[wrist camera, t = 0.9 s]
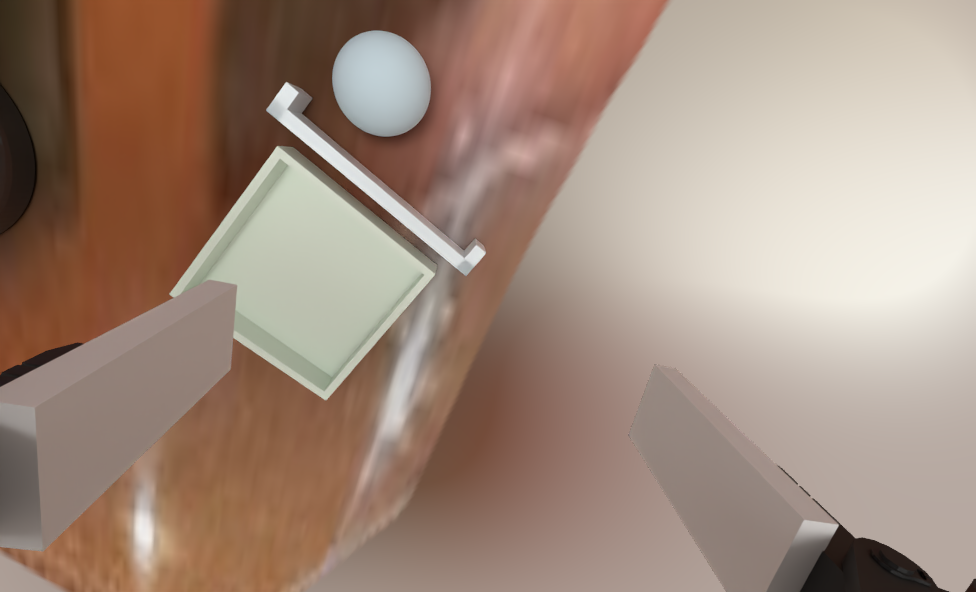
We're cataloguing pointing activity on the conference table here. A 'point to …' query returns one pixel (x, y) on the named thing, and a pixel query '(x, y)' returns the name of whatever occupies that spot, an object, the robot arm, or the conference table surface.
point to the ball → (381, 83)
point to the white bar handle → (368, 179)
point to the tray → (309, 272)
